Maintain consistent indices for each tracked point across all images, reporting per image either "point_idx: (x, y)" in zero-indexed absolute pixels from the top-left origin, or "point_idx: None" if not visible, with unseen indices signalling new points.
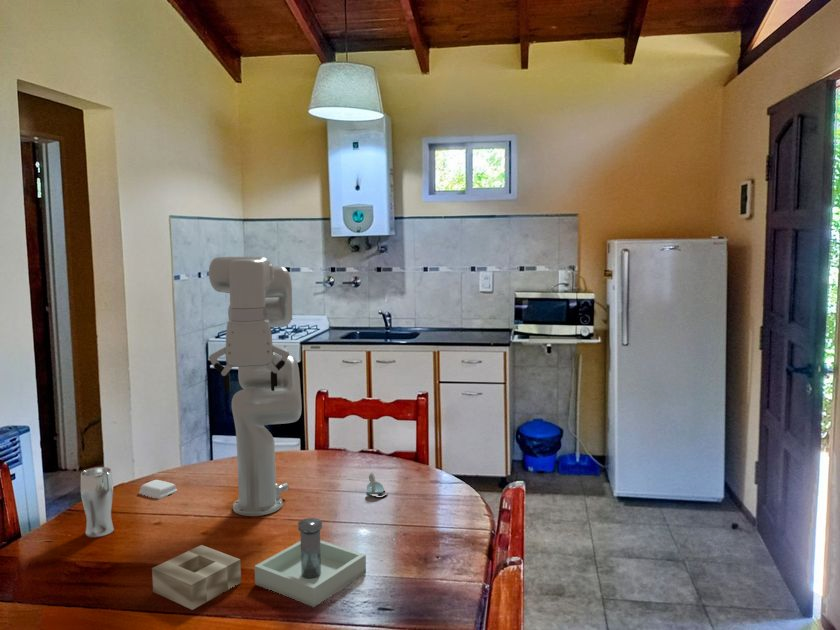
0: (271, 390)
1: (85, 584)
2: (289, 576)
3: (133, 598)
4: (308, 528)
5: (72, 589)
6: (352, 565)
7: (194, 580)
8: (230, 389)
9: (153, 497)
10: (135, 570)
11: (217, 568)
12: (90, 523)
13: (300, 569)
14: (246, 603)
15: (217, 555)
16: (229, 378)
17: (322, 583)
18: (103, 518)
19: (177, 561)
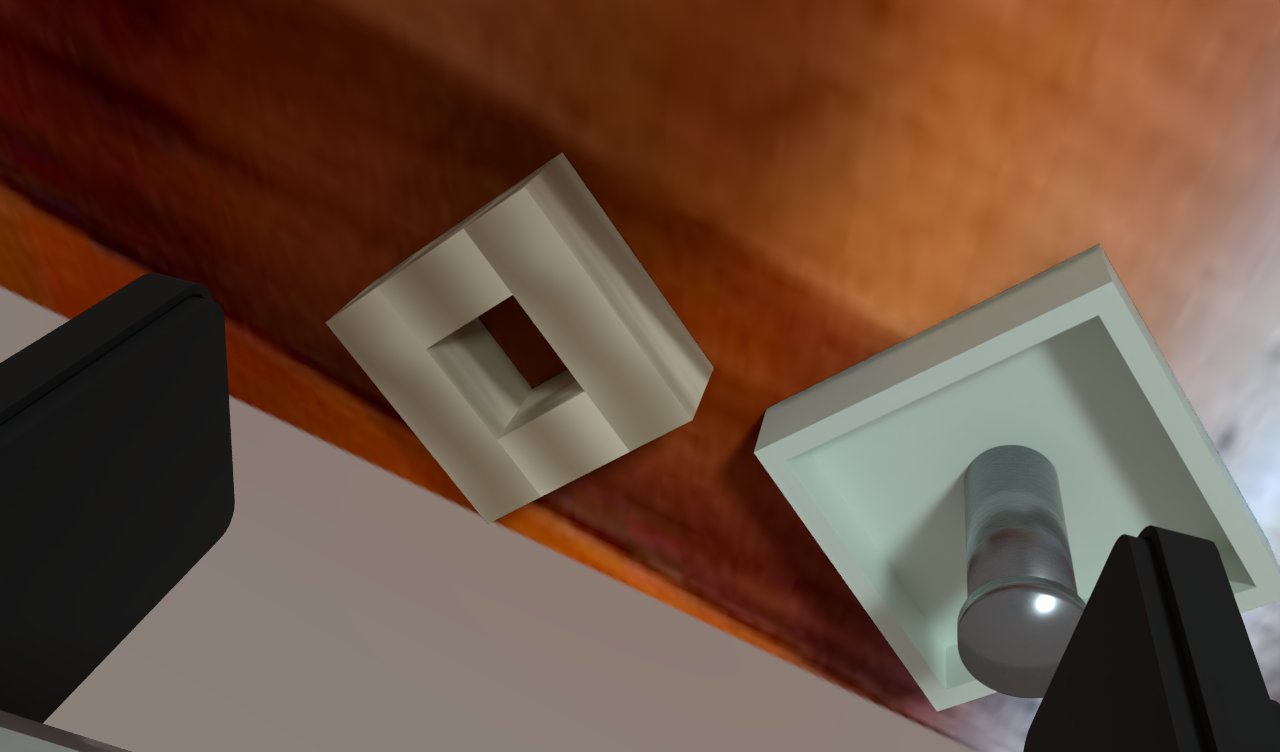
0: (1033, 738)
1: (105, 94)
2: (875, 596)
3: (311, 294)
4: (994, 687)
5: (71, 116)
6: None
7: (498, 497)
8: (213, 360)
9: None
10: (273, 49)
11: (589, 449)
12: None
13: (979, 426)
14: (710, 516)
15: (595, 335)
16: (34, 685)
17: (985, 693)
18: None
19: (422, 311)
